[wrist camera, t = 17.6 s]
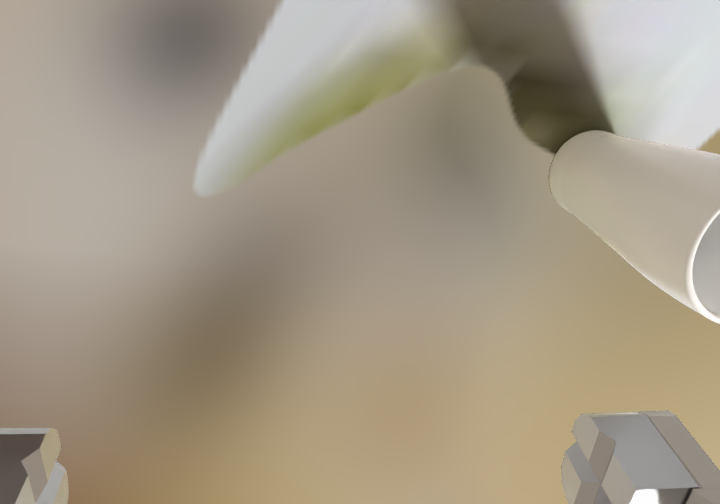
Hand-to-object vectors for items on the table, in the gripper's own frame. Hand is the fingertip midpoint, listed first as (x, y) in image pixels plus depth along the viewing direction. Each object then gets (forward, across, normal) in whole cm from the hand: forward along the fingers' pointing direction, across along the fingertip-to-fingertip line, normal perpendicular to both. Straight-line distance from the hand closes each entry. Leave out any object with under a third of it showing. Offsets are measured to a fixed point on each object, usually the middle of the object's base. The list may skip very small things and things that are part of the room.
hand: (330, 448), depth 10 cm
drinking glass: (+28, -19, +6) cm, 34 cm away
